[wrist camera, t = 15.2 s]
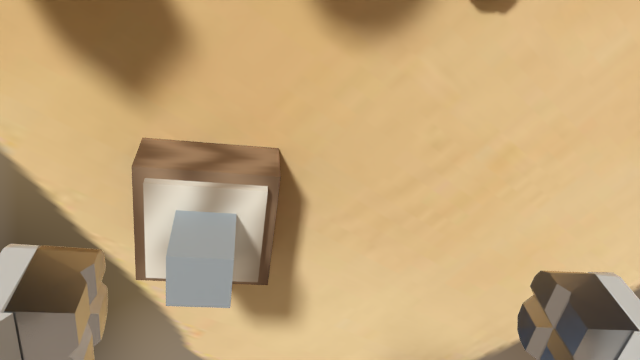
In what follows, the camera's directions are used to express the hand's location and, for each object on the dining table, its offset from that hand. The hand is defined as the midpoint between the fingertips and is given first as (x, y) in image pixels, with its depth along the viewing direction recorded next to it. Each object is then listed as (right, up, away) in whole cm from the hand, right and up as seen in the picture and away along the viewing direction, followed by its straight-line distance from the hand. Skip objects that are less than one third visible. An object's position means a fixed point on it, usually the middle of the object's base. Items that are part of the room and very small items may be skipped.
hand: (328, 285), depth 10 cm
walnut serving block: (-11, 0, +43) cm, 44 cm away
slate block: (-10, -3, +38) cm, 39 cm away
